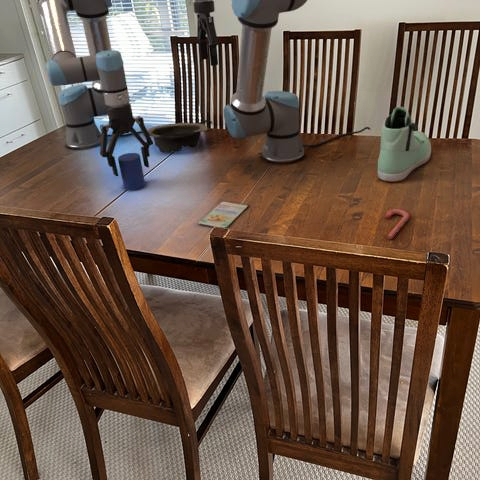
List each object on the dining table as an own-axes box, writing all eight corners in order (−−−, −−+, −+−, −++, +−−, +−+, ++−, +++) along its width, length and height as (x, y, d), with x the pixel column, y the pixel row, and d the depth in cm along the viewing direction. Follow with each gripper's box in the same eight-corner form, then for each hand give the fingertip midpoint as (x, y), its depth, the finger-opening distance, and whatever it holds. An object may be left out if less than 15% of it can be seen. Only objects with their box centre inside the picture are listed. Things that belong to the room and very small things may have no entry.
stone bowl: (160, 161, 179) (155, 137, 175) (141, 147, 200) (136, 125, 195) (220, 146, 188) (216, 122, 184) (195, 134, 208) (192, 112, 204)
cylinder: (133, 192, 159) (127, 162, 153) (119, 187, 163) (113, 158, 157) (149, 184, 164) (144, 155, 158) (135, 179, 168) (129, 151, 162)
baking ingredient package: (197, 222, 136) (222, 200, 148) (198, 223, 137) (222, 201, 148) (225, 227, 133) (248, 204, 144) (225, 229, 133) (248, 206, 145)
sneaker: (435, 147, 173) (444, 90, 162) (416, 186, 148) (424, 121, 137) (397, 143, 179) (403, 88, 168) (371, 180, 154) (377, 117, 143)
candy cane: (369, 235, 126) (370, 230, 125) (390, 211, 136) (390, 206, 135) (392, 241, 122) (392, 236, 122) (411, 215, 133) (412, 211, 132)
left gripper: (85, 114, 141) (102, 183, 153) (156, 99, 151) (167, 164, 162) (78, 109, 147) (95, 176, 158) (147, 94, 156) (158, 158, 168)
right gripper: (185, -1, 182) (191, 58, 193) (202, 4, 161) (209, 69, 172) (204, -3, 184) (209, 55, 195) (223, 1, 163) (228, 66, 174)
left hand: (131, 170), depth 160 cm, fingers open, 10 cm apart
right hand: (209, 62), depth 184 cm, fingers open, 13 cm apart
